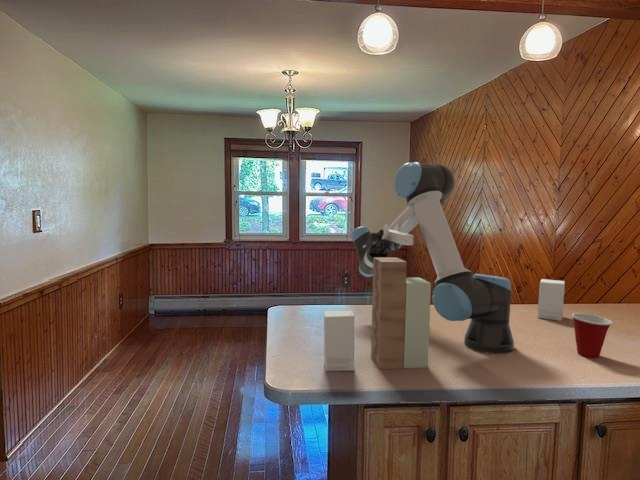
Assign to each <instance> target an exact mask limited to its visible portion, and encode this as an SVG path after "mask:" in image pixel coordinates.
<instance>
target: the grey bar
mask: <svg viewBox="0 0 640 480" xmlns="http://www.w3.org/2000/svg"><path fill="white" fill-rule="evenodd" d="M384 239H386V240H389V241H392V242H395V243H398V244H401V245H402V246H414V234H411V233H408V234H407V233H403V232H399V231H395V230H391V229H389V231H388V233H387V235H386V236H385V238H384Z"/></svg>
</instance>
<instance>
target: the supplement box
mask: <svg viewBox="0 0 640 480" xmlns="http://www.w3.org/2000/svg"><path fill="white" fill-rule="evenodd" d="M565 283H566V282H565V280H556V279H548V278H547V279H546V278H541V280H540V282H539V293H538V306H537V319H543V318H544V319H545V320H553V321H558V322H562V321H563V314H564V304H565V291H566V290H565V289H566V288H565V286H566V284H565ZM544 319H543V320H544Z"/></svg>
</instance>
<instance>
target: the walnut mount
mask: <svg viewBox="0 0 640 480" xmlns="http://www.w3.org/2000/svg"><path fill="white" fill-rule="evenodd" d="M407 266H408V263H407V261H406V260H404V259H402V258H398V257H386V258H373V276H372V297H371V298H372V300H371V301H372V303H371V304H372V305H371V306H372V307H371V336H370V337H371V340H370V341H371V342H370V343H371V344H370V347H371V348H370V358H371V361H372V362H373V363H374V364H375V366H376V367H377V369H378V370H390V369H391V370H392V369H404V368H403V360H404V329H405V298H406V278H407Z"/></svg>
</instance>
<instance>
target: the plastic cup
mask: <svg viewBox="0 0 640 480" xmlns="http://www.w3.org/2000/svg"><path fill="white" fill-rule="evenodd" d="M571 317H572V321H573V326H574V327H573V328H574V335H575V336H574V338H575V344H576V350H577V354H578V355H579V356H581V357H584V358H588V359H589V358H590V359H598V358H599V357H600V355H601V352H602V348H603V345H604V342H605V339H606V337H607V336H606V335H607V332H608V331H609V328H610V326H611V325H612V324H613V321H612V320H611V319H608V318H605V317H602V316H599V315H594V314H590V313H589V314H588V313H583V312H582V313H580V312H575V313H574V312H573V313H572V314H571Z"/></svg>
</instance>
